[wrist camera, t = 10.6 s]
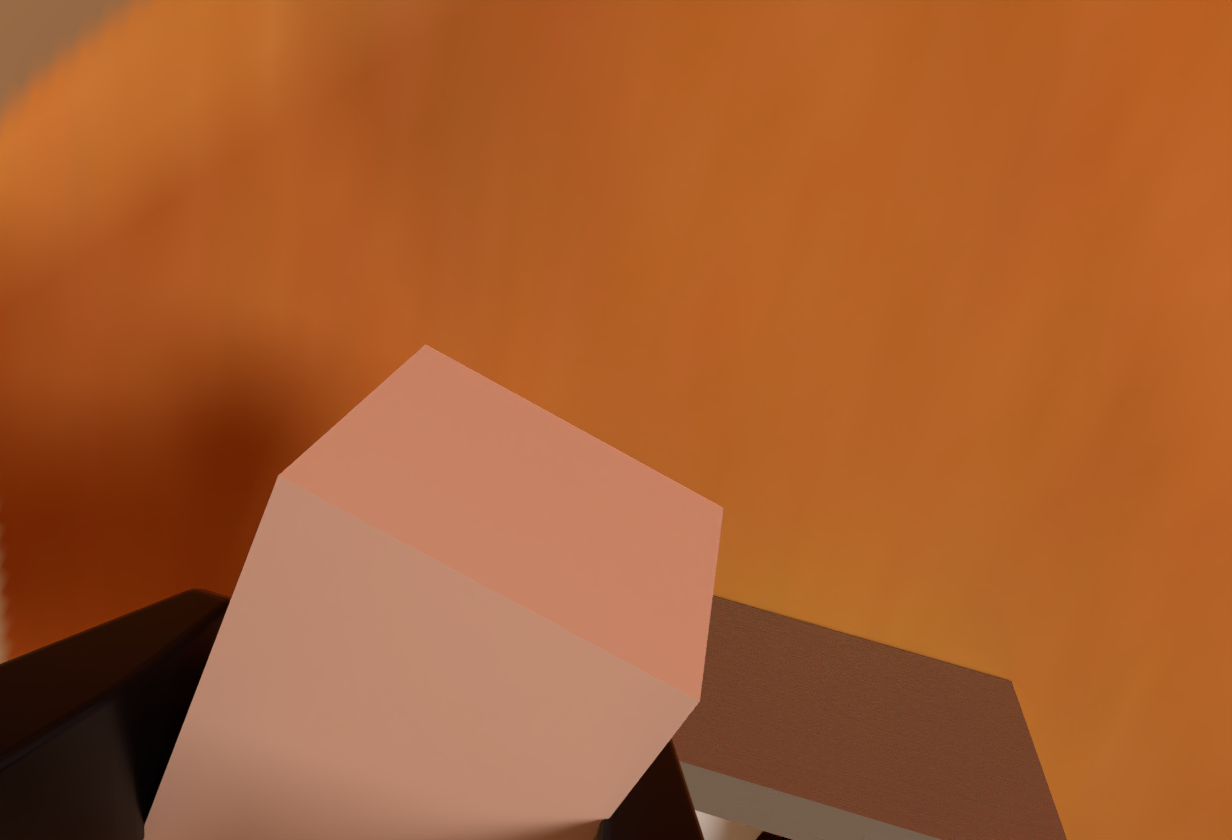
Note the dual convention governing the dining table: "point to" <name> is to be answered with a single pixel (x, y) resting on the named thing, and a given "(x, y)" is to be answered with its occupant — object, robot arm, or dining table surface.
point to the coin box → (856, 739)
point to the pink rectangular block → (447, 630)
